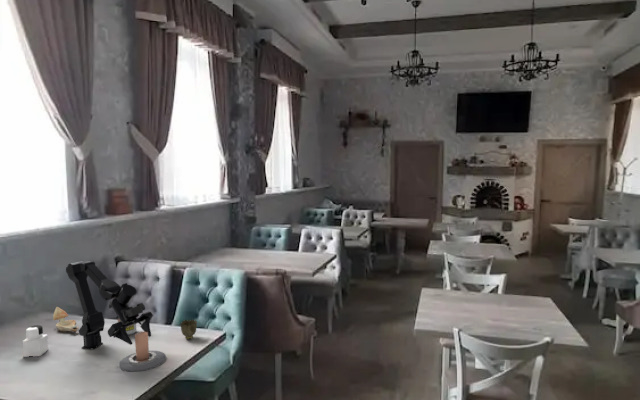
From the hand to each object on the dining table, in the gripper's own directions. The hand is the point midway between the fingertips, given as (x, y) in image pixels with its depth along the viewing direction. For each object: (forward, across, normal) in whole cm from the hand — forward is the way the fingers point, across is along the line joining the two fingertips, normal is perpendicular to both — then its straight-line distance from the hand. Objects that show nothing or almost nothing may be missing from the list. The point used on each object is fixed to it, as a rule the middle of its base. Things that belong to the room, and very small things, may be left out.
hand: (141, 340), depth 183 cm
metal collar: (+7, 0, +6) cm, 9 cm away
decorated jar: (-16, +18, +30) cm, 39 cm away
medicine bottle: (-28, -16, +42) cm, 53 cm away
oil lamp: (-39, +7, +53) cm, 66 cm away
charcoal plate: (+7, 0, +6) cm, 9 cm away
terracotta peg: (+6, 0, +6) cm, 8 cm away
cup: (+6, +27, +7) cm, 28 cm away
